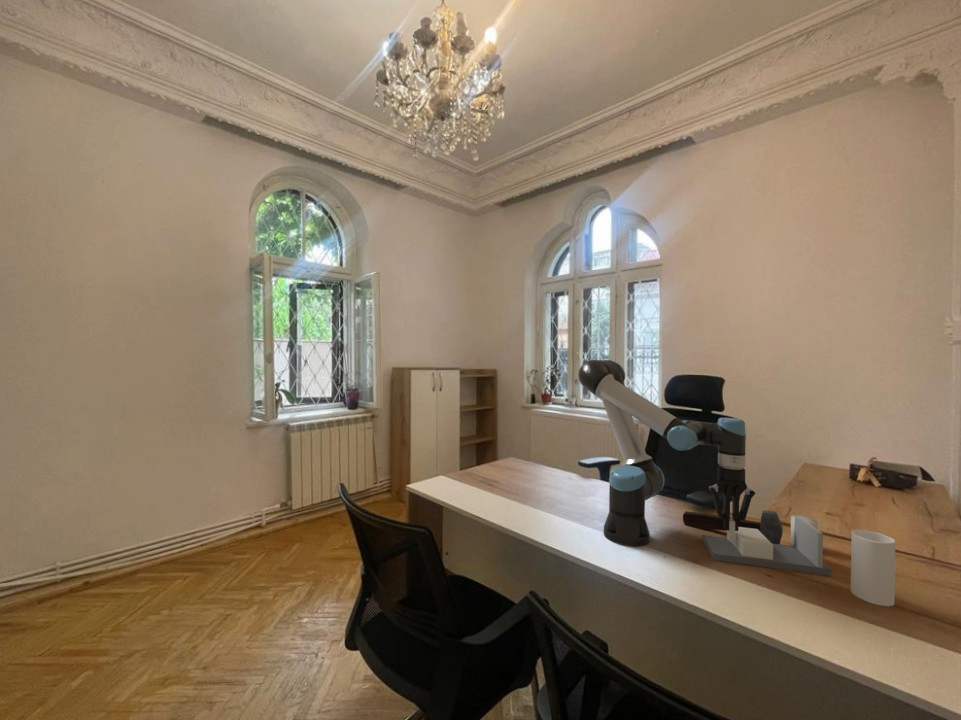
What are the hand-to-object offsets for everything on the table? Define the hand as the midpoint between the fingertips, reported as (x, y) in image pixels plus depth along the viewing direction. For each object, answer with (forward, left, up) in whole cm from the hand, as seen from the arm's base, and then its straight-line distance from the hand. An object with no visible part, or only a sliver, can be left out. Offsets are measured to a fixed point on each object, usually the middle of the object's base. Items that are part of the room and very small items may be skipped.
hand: (730, 540), depth 128 cm
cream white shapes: (+26, +13, -4) cm, 29 cm away
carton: (+6, 0, -2) cm, 6 cm away
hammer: (+4, +16, -5) cm, 17 cm away
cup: (+28, -16, -4) cm, 33 cm away
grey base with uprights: (+9, 0, -4) cm, 9 cm away
